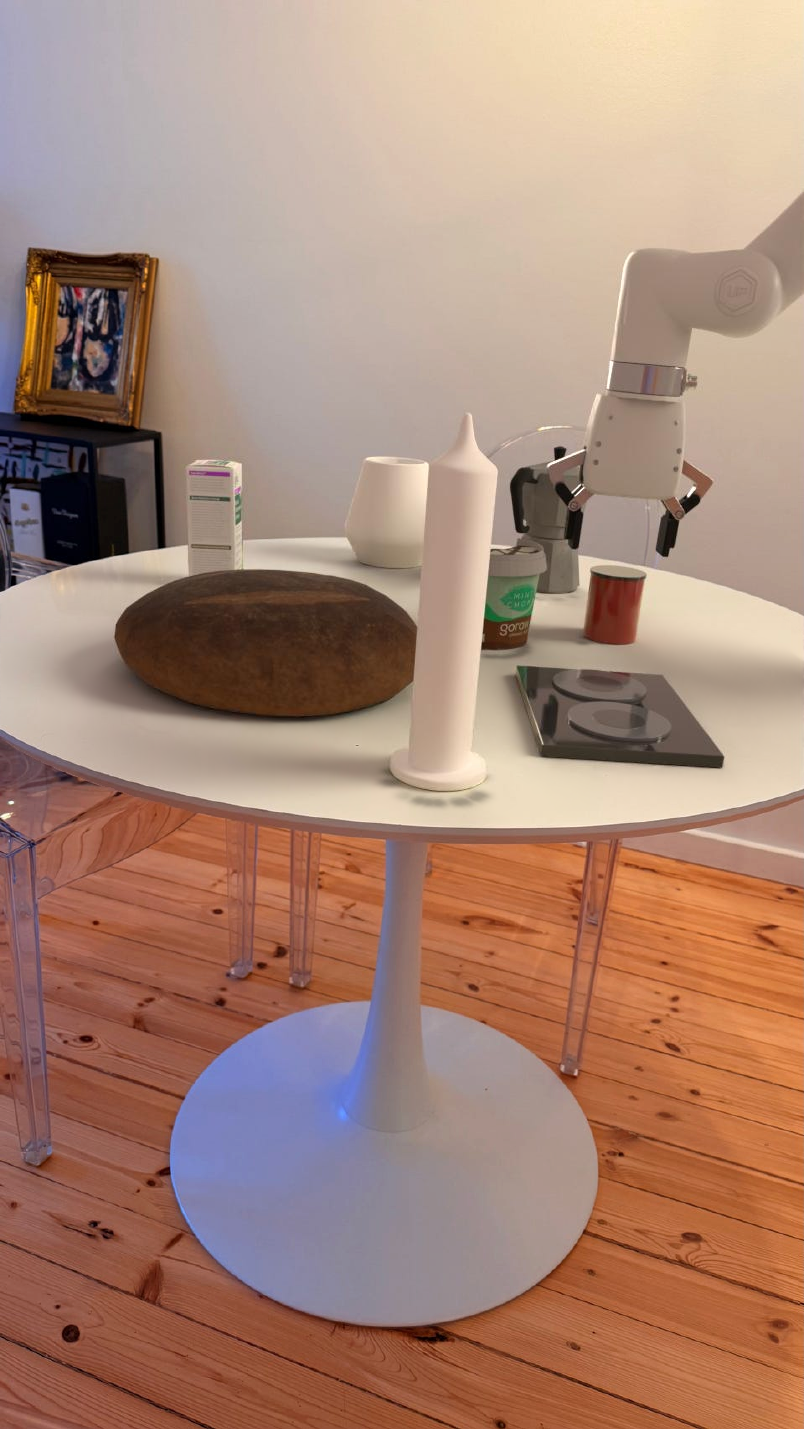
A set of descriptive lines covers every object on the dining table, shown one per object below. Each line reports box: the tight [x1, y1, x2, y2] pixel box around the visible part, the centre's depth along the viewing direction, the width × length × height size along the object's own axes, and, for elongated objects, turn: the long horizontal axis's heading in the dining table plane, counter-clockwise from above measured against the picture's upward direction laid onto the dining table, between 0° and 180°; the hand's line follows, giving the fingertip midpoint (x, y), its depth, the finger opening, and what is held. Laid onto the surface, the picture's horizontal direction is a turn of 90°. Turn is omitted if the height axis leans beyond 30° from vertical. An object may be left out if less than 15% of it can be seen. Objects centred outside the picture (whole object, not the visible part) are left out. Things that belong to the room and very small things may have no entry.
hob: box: [515, 665, 725, 769], centre depth 85 cm, size 14×20×1 cm
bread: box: [113, 568, 417, 717], centre depth 90 cm, size 28×27×9 cm
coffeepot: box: [509, 445, 588, 594], centre depth 128 cm, size 15×9×18 cm, turn 134°
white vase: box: [344, 456, 430, 569], centre depth 138 cm, size 13×13×14 cm
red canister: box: [582, 564, 647, 645], centre depth 108 cm, size 6×6×7 cm
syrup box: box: [185, 459, 244, 576], centre depth 119 cm, size 6×6×14 cm
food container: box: [481, 537, 547, 651], centre depth 103 cm, size 12×6×10 cm, turn 143°
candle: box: [389, 412, 499, 792], centre depth 67 cm, size 7×7×25 cm
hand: (617, 550), depth 106 cm, fingers open, 9 cm apart
